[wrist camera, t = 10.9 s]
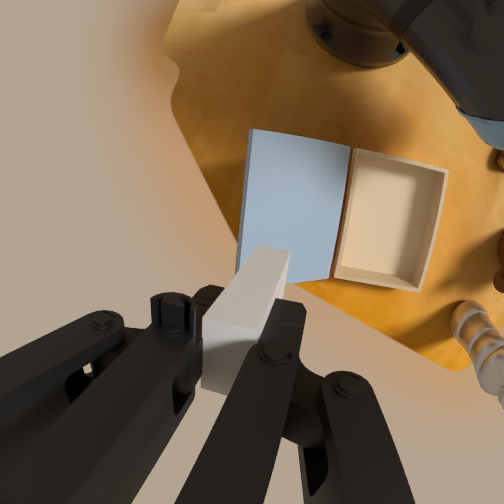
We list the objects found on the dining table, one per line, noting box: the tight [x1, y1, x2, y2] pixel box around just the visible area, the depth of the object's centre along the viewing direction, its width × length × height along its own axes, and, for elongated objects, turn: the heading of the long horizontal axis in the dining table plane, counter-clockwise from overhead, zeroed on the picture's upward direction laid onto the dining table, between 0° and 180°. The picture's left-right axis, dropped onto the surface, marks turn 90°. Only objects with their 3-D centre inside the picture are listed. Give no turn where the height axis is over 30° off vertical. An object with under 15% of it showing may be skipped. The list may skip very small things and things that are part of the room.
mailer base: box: [333, 148, 449, 293], centre depth 35 cm, size 16×12×4 cm
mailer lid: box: [235, 129, 351, 284], centre depth 31 cm, size 16×12×1 cm
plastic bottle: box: [450, 300, 504, 409], centre depth 28 cm, size 6×7×20 cm
